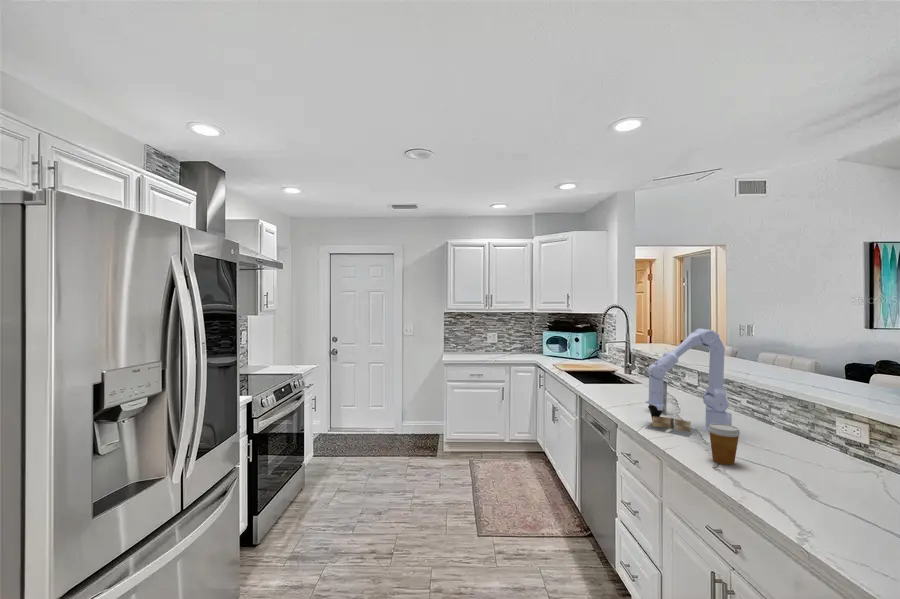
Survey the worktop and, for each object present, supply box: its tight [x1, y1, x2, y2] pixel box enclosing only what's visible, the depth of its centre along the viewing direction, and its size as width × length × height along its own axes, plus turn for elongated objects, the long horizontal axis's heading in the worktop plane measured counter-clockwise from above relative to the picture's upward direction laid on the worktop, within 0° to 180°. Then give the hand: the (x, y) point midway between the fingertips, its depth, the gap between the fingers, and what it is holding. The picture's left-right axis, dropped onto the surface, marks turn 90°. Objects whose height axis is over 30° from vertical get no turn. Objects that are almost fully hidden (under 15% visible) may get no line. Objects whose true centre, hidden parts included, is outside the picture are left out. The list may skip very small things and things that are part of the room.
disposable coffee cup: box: [708, 423, 741, 466], centre depth 148 cm, size 10×10×12 cm
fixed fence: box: [674, 418, 692, 432], centre depth 182 cm, size 6×1×4 cm, turn 48°
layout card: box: [645, 423, 699, 438], centre depth 184 cm, size 17×15×1 cm
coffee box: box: [648, 379, 668, 416], centre depth 215 cm, size 9×6×16 cm
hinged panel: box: [651, 416, 675, 428], centre depth 185 cm, size 8×2×4 cm, turn 79°
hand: (655, 423), depth 187 cm, fingers closed, pressing on hinged panel
